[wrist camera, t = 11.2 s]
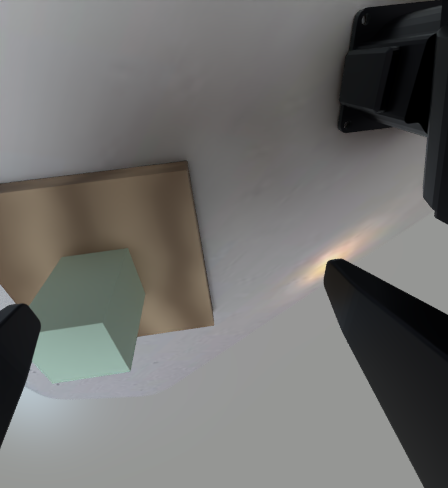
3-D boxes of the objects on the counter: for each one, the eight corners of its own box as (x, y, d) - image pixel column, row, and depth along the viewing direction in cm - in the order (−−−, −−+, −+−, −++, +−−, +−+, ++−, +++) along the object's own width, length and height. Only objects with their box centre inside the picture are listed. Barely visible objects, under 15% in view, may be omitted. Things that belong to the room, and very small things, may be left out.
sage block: (127, 248, 20) (102, 322, 14) (145, 294, 23) (130, 371, 17) (61, 257, 20) (8, 336, 14) (87, 302, 22) (52, 383, 17)
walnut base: (187, 160, 18) (186, 169, 17) (212, 309, 28) (214, 325, 26) (-44, 189, 18) (-67, 201, 16) (61, 332, 27) (52, 349, 25)
